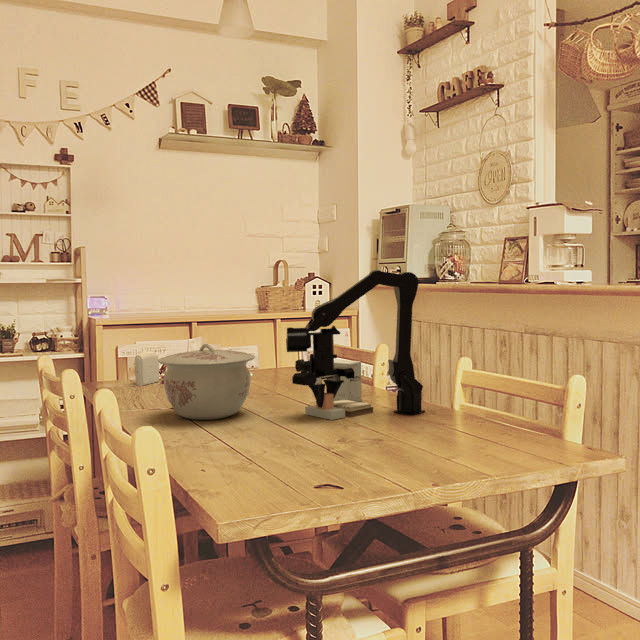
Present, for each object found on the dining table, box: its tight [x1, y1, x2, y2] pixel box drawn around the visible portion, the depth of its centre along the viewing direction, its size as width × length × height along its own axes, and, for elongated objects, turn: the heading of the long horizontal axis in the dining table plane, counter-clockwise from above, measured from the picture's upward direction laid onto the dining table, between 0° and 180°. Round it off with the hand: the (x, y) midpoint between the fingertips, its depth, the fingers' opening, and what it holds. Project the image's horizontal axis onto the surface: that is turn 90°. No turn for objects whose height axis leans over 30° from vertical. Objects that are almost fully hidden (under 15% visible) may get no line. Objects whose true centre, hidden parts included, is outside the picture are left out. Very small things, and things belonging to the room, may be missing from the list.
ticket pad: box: [334, 400, 374, 418], centre depth 197 cm, size 12×9×2 cm
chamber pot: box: [158, 343, 256, 421], centre depth 196 cm, size 28×28×21 cm
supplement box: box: [334, 359, 362, 402], centre depth 213 cm, size 7×7×13 cm
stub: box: [304, 391, 346, 421], centre depth 191 cm, size 11×5×6 cm, turn 42°
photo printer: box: [134, 350, 160, 387], centre depth 260 cm, size 10×4×12 cm, turn 152°
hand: (324, 406), depth 191 cm, fingers closed on stub, 3 cm apart
